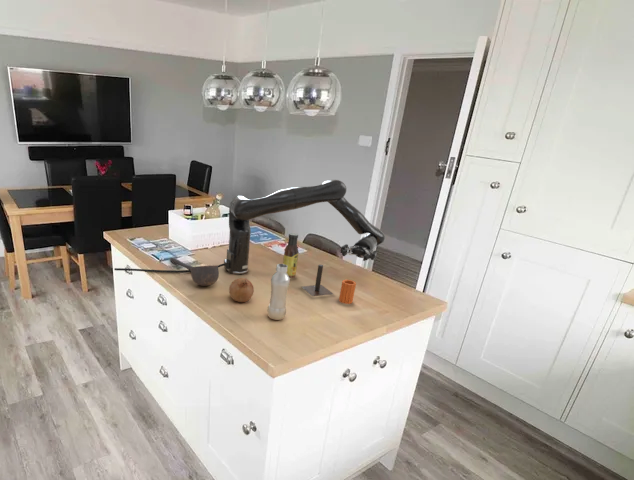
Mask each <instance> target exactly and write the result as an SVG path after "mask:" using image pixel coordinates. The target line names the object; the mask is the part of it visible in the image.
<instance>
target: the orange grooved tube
mask: <svg viewBox="0 0 634 480" xmlns="http://www.w3.org/2000/svg"><path fill="white" fill-rule="evenodd" d="M356 285H357V283H356V281H354V280H352V279H344V280H342V281H341V286H340V292H339V296H338V301H339V303H341V304H347V305H350V304H352V303H353V302H354V296H355V292H356Z"/></svg>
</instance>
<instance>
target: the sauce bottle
mask: <svg viewBox="0 0 634 480" xmlns="http://www.w3.org/2000/svg"><path fill="white" fill-rule="evenodd" d="M298 238H299V234H298V233H296V232H289V233H288V242H287V245H286V246H285V248H284V254H283V261H282V264H285V265H287V272H286V273H287V274H288V276H289V278H290V279H293V278H295V277H296V275H297V268H298V260H299V254H300V253H299V252H300V251H299V248H298Z"/></svg>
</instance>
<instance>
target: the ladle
mask: <svg viewBox="0 0 634 480" xmlns="http://www.w3.org/2000/svg"><path fill="white" fill-rule="evenodd" d="M169 261H170V262H171V263H173V264H174V265H176V266H180V267H182V268H185V269H186V270H190V271H191V272H190V274H191V278H192V281H193V282H194V283H195V284H196V285H198V286H200V287H206V286H211V285H214V284H215V283H217V281H218V279H219V276H220V275H219V274H220V272H219V268H218V265H219V264H218V265H214V264H213V265H198V266H193V265H192V264H191V265H190V264H187V263H185V262H183V261H181V260H180V259H177V258H175V257H170V258H169Z"/></svg>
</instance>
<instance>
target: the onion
mask: <svg viewBox="0 0 634 480" xmlns="http://www.w3.org/2000/svg"><path fill="white" fill-rule="evenodd" d="M228 292H229V296H230V297H231V299H232V300H233V301H235V302H238V303H245V302H248V301H249V300H250V299H252V297H253V295H254V292H255V288H254V285H253V283H252V281H250V280H249V279H248V278H245V277H238V278H235V279H234V280H233V281H232V282H231V283H230V285H229V288H228Z"/></svg>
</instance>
